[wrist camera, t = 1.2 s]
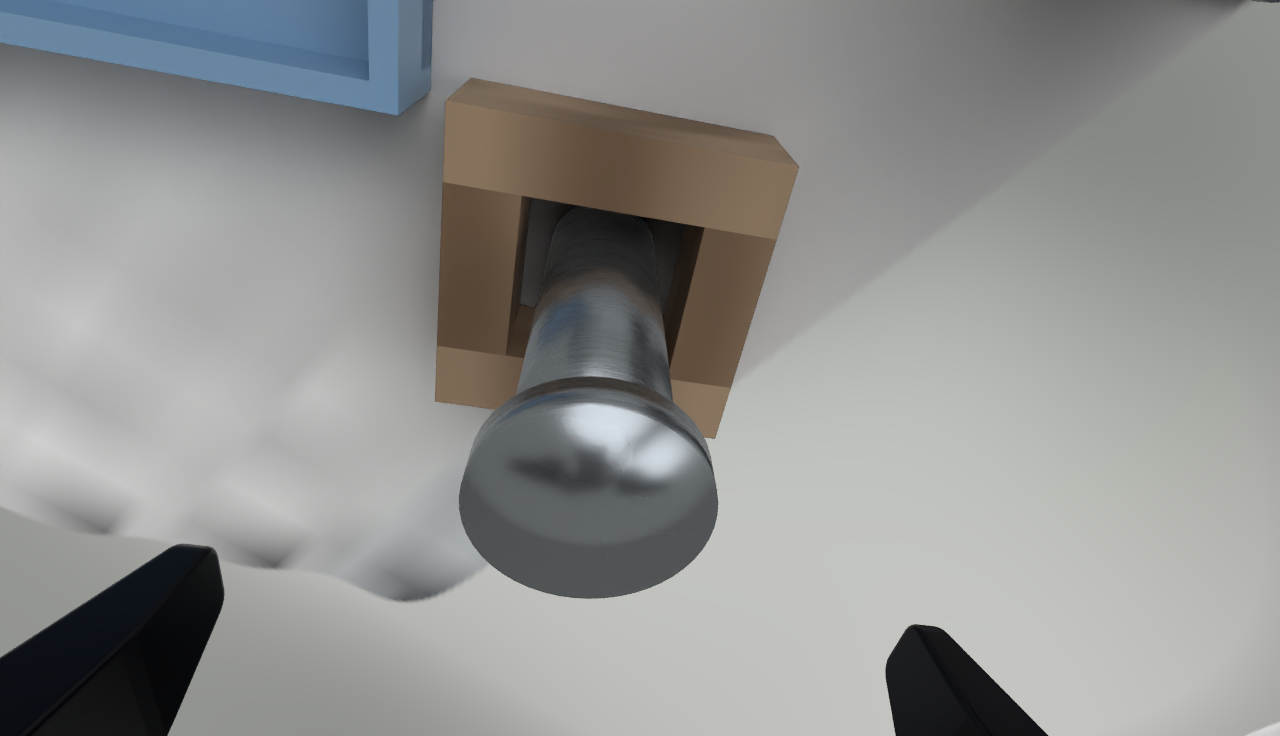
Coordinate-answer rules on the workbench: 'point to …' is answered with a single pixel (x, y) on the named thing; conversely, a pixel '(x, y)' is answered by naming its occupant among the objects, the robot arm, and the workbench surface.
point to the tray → (247, 43)
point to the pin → (592, 431)
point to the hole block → (609, 180)
